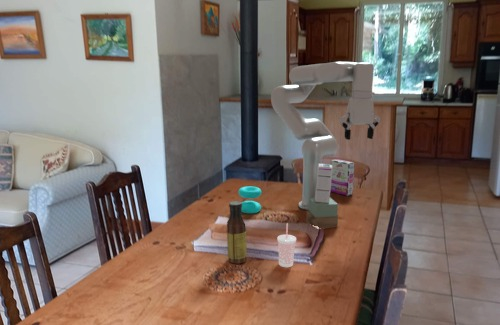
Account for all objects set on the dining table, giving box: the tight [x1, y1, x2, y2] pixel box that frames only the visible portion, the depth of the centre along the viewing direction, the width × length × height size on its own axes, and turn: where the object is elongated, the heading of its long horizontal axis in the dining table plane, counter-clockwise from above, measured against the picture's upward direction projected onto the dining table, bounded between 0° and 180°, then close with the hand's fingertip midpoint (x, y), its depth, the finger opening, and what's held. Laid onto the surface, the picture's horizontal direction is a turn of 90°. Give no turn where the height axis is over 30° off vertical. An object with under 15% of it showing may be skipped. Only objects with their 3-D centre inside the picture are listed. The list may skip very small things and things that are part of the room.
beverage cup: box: [276, 222, 297, 268], centre depth 141 cm, size 6×6×14 cm
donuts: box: [238, 185, 262, 214], centre depth 192 cm, size 10×10×10 cm
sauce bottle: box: [226, 200, 248, 265], centre depth 142 cm, size 7×6×20 cm
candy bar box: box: [330, 158, 355, 197], centre depth 218 cm, size 11×5×16 cm, turn 43°
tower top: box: [307, 197, 339, 217], centre depth 176 cm, size 9×9×5 cm
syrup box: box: [315, 163, 332, 203], centre depth 174 cm, size 6×6×14 cm
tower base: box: [305, 210, 339, 230], centre depth 177 cm, size 9×9×5 cm
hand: (358, 138), depth 174 cm, fingers open, 9 cm apart
